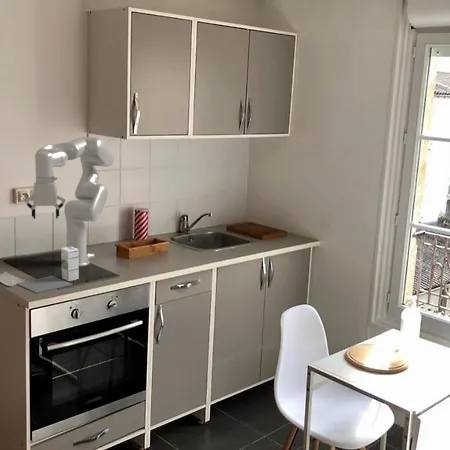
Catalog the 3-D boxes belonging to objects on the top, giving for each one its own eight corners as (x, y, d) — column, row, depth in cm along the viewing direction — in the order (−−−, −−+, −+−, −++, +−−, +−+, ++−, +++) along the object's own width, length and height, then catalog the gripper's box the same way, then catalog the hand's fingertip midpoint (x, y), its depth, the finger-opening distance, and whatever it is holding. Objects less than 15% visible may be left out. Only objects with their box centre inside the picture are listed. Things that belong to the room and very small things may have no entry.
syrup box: (79, 279, 282) (79, 248, 279) (68, 281, 278) (68, 250, 275) (71, 276, 286) (71, 245, 283) (60, 278, 282) (60, 247, 279)
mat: (52, 276, 284) (52, 275, 284) (72, 285, 274) (72, 284, 274) (16, 284, 271) (16, 283, 271) (36, 293, 261) (36, 292, 261)
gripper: (65, 178, 278) (65, 215, 282) (24, 178, 273) (25, 216, 278) (65, 181, 271) (65, 219, 275) (23, 181, 266) (24, 220, 271)
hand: (45, 218), depth 276 cm, fingers open, 9 cm apart
